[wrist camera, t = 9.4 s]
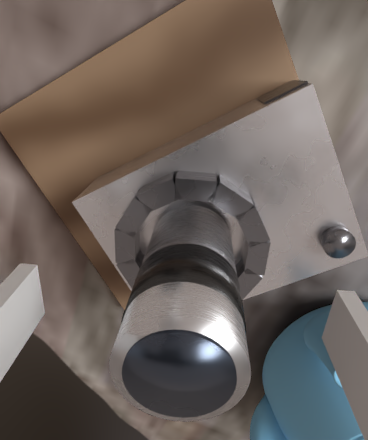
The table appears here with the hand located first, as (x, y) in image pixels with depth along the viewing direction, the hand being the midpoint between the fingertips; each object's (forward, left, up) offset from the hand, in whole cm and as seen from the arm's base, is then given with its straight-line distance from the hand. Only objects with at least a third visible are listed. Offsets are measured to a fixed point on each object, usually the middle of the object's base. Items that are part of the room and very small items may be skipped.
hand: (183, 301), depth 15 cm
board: (-3, 0, -13) cm, 13 cm away
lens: (0, 0, -6) cm, 6 cm away
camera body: (0, +2, -11) cm, 12 cm away
